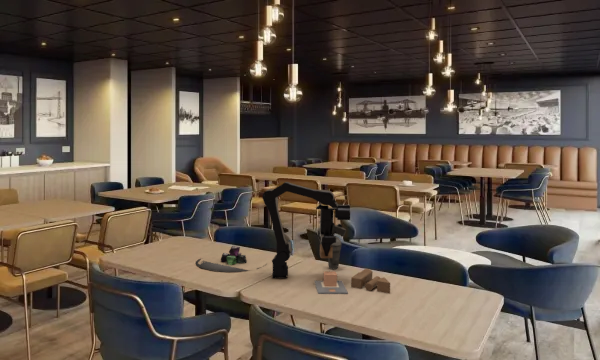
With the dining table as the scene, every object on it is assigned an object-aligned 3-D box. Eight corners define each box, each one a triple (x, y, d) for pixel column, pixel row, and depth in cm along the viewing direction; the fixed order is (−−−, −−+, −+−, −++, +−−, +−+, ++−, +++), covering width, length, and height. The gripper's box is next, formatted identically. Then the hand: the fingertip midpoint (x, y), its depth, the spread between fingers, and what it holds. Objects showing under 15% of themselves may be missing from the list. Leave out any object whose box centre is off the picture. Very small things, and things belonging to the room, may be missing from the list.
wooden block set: (350, 275, 212) (364, 265, 228) (349, 288, 213) (364, 278, 229) (389, 281, 205) (401, 270, 221) (389, 295, 205) (401, 283, 221)
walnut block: (320, 258, 221) (321, 246, 220) (319, 255, 226) (319, 244, 225) (332, 258, 221) (332, 246, 221) (330, 255, 226) (331, 244, 226)
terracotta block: (324, 286, 211) (325, 274, 211) (323, 282, 216) (323, 271, 216) (336, 286, 212) (336, 274, 211) (335, 282, 217) (335, 271, 216)
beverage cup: (340, 270, 238) (341, 228, 236) (324, 269, 239) (325, 227, 237) (341, 266, 245) (343, 226, 243) (326, 265, 246) (328, 225, 244)
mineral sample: (280, 266, 244) (280, 247, 244) (213, 276, 225) (213, 255, 224) (246, 255, 273) (246, 238, 273) (184, 263, 253) (183, 245, 253)
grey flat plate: (318, 293, 204) (318, 292, 204) (314, 281, 220) (314, 280, 219) (347, 293, 204) (347, 292, 204) (342, 282, 220) (342, 280, 220)
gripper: (348, 223, 213) (347, 259, 215) (341, 216, 232) (340, 249, 233) (322, 223, 212) (321, 259, 214) (317, 215, 231) (316, 249, 232)
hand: (325, 254), depth 223 cm, fingers closed on walnut block, 5 cm apart
